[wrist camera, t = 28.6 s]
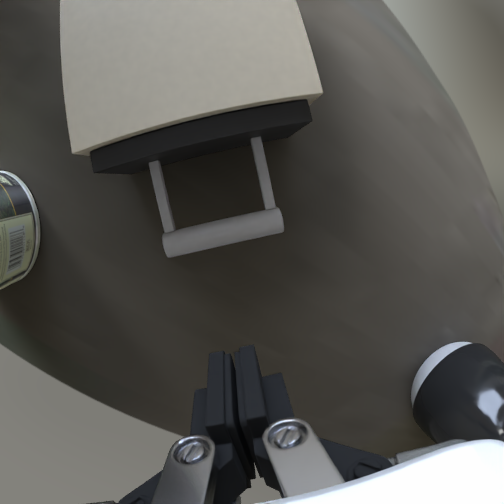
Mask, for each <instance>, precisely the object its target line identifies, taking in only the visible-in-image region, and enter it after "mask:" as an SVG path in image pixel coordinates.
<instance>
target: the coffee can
mask: <svg viewBox="0 0 504 504" xmlns="http://www.w3.org/2000/svg"><path fill="white" fill-rule="evenodd" d="M39 245H40V220H39V214H38V210H37V207H36V204H35V201H34V199H33V196H32V194H31V192H30V191H29V189H28V188H27V186H26V185H25V184H24V182H23V181H22V180H21V179H20V178H18V177H17V176H16V175H14V174H12V173H10V172H6V171H0V290H1V289H3V288H5V287H6V286H8V285H10V284H12V283H14V282H17V281H19V280H21V279H22V278H24V277H25V276H26V275H27V274H28V273H29V271H30V270H31V268H32V267H33V265H34V263H35V261H36V259H37V255H38V250H39Z"/></svg>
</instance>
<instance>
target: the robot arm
mask: <svg viewBox="0 0 504 504" xmlns="http://www.w3.org/2000/svg"><path fill="white" fill-rule="evenodd" d="M239 350H240V351H239V352H235V366H234V363H233V360H232V356H231V354H230V353H229V354H225V352H224V351H220V352H215V353H210V354H209V366H208V381H207V388H204V389H198V390H195V394H194V403H193V413H192V422H191V432H190V435H189V436H186V437H183V438H181V439H179V440H178V441H176V442H175V443H174V444H173V446H172V447H171V449H170V451H169V453H168V456H167V459H166V462H165V465H164V468H163V470H162V471H160V472H159V473H158V474H156V475H155V476H154V477H152V478H151V479H149V480H148V481H146V482H145V483H144V484H142V485H141V486H139V487H138V488H136V489H135V490H133V491H132V492H131V493H129V494H128V495H126V496H125V497H123V498H122V499H121V500H120V501H119V503H115V502H114V501H106V502H98V503H90V504H241V497H240V494H241V493H242V492H243V491H245V490H246V489H247V488H251V481H250V479H255V478H256V475H255V467H254V463H255V465H256V468H257V471H258V473H259V476H260V478H261V477H263V478H264V480H265V483H266V485H267V486H269V487H271V488H273V489H276V490H278V491H279V492H280V495H281V497H282V499H277V500H273V501H267V502H261V503H255V504H504V442H502V441H499V440H493V439H484V440H475V441H469V442H468V441H466V440H463V439H452V440H448V441H445V442H441V443H438V444H434V445H430V446H426V447H422V448H418V449H414V450H410V451H406V452H401V453H396V455H395V457H392V458H385V457H383V456H381V455H378V454H374V453H370V452H366V451H362V450H359V449H355V448H351V447H348V446H344V445H341V444H338V443H334V442H331V441H328V440H325V439H321V438H318V437H317V435H316V434H315V432H314V430H313V429H312V427H311V426H310V425H309V423H308V422H306V421H304V420H302V419H299V418H294V415H293V411H292V408H291V404H290V401H289V397H288V394H287V390H286V387H285V383H284V380H283V376H282V373H278V374H273V375H269V376H265V377H262V375H261V371H260V367H259V363H258V359H257V355H256V351H255V347H254V344H253V345H249V346H244V347H240V348H239ZM235 368H236V370H235Z"/></svg>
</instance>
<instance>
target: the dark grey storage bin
mask: <svg viewBox="0 0 504 504" xmlns="http://www.w3.org/2000/svg"><path fill="white" fill-rule="evenodd" d="M311 121H312V117H311V113H310V108H309V104H308V100H307V99H305V100H298V101H291V102H284V103H277V104H266V105H260V106H254V107H249V108H244V109H239V110H234V111H229V112H225V113H220V114H215V115H211V116H206V117H202V118H198V119H194V120H190V121H186V122H182V123H178V124H174V125H170V126H166V127H163V128H159V129H156V130H152V131H149V132H145V133H142V134H139V135H135V136H132V138H129V139H125V140H122V141H119V142H116V143H113V144H110V145H107V146H104V147H101V148H99V149H96V150H93V151H90V156H91V162H92V167H93V172H94V173H110V174H134V173H137V172H140V171H144V170H147V169H150V173H151V177H152V182H153V186H154V190H155V195H156V199H157V203H158V207H159V212H160V216H161V220H162V224H163V228H164V232H165V233H164V234H163V235H162V242H163V247H164V251H165V253H166V255H167V257H169V258H170V257H175V256H179V255H184V254H188V253H192V252H197V251H201V250H205V249H210V248H214V247H219V246H223V245H228V244H232V243H236V242H241V241H245V240H250V239H254V238H259V237H263V236H268V235H272V234H277V233H281V232H284V223H283V218H282V214H281V211H280V209H279V208H278V207H276V205H275V201H274V196H273V191H272V186H271V181H270V177H269V172H268V167H267V163H266V158H265V153H264V149H263V144H262V142H267V141H272V140H277V139H283V138H288V137H290V136H291V135H293V134H294V133H295V132H297V131H298V130H300V129H301V128H303V127H304V126H306V125H307V124H309V123H310V122H311ZM246 145H251V146H252V151H253V156H254V160H255V165H256V169H257V174H258V179H259V183H260V188H261V193H262V197H263V202H264V207H265V209H266V210H262V211H257V212H253V213H248V214H244V215H239V216H235V217H230V218H226V219H221V220H217V221H213V222H208V223H204V224H200V225H196V226H191V227H187V228H183V229H179V230H176V228H175V224H174V220H173V216H172V212H171V207H170V203H169V199H168V195H167V190H166V186H165V181H164V177H163V173H162V168H161V166H162V165H166V164H169V163H173V162H177V161H181V160H185V159H189V158H193V157H197V156H201V155H205V154H210V153H214V152H218V151H223V150H227V149H232V148H237V147H241V146H246Z"/></svg>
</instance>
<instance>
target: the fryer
mask: <svg viewBox="0 0 504 504" xmlns="http://www.w3.org/2000/svg"><path fill="white" fill-rule="evenodd" d="M60 44H61V64H62V78H63V89H64V99H65V108H66V116H67V123H68V130H69V137H70V143H71V149H72V154H77V155H85V156H90V151H93V150H96V149H99V148H101V147H104V146H107V145H110V144H113V143H116V142H119V141H122V140H125V139H129V138H132V136H135V135H139V134H142V133H145V132H149V131H152V130H156V129H159V128H163V127H166V126H170V125H174V124H177V123H181V122H185V121H189V120H193V119H197V118H202V117H206V116H210V115H215V114H219V113H224V112H229V111H234V110H239V109H244V108H249V107H254V106H260V105H266V104H277V103H284V102H291V101H298V100H305V99H307V100H308V104H309V105H310V104H311V103H312V102H313V101H315V100H316V99H317V98H318V97H319V96H320V95H322V94H323V90H322V86H321V82H320V79H319V75H318V71H317V67H316V64H315V60H314V57H313V53H312V50H311V46H310V43H309V40H308V36H307V33H306V30H305V27H304V23H303V20H302V17H301V14H300V11H299V8H298V5H297V2H296V0H60Z"/></svg>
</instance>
